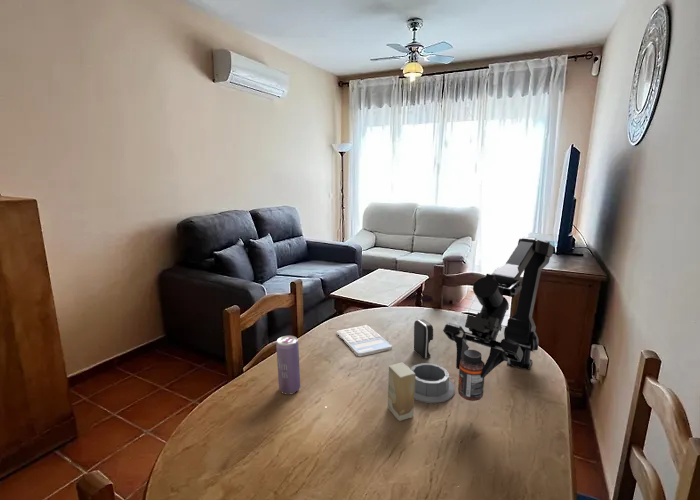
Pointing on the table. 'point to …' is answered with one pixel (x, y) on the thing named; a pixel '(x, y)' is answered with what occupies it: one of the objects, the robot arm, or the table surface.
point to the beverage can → (288, 364)
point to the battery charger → (422, 337)
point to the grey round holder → (432, 383)
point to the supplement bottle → (471, 376)
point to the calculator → (364, 340)
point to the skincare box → (401, 391)
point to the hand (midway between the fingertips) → (469, 373)
